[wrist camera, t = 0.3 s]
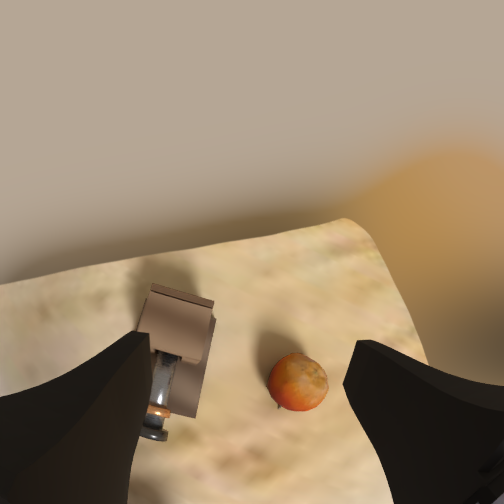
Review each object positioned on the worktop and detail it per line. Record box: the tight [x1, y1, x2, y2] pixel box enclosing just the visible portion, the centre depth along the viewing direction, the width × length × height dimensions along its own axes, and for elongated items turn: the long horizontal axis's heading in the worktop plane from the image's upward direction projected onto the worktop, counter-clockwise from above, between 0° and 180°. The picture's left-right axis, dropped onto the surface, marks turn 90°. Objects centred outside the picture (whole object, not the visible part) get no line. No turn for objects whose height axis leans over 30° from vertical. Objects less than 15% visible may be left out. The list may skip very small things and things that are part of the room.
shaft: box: [140, 350, 178, 441], centre depth 28 cm, size 12×4×4 cm, turn 170°
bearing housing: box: [136, 283, 216, 418], centre depth 31 cm, size 14×10×8 cm
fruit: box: [265, 353, 329, 411], centre depth 34 cm, size 8×8×8 cm
